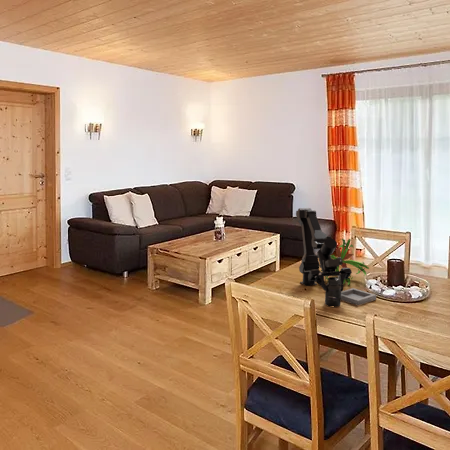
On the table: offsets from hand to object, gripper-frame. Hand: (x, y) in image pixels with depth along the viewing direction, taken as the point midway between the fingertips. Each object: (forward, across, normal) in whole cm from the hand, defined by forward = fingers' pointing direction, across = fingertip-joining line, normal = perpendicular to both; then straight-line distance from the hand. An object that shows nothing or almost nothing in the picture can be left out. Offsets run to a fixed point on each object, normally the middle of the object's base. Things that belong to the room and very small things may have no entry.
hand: (334, 291), depth 196 cm
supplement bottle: (+4, 0, +6) cm, 7 cm away
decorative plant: (-20, +19, +30) cm, 41 cm away
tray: (0, +13, +10) cm, 16 cm away
